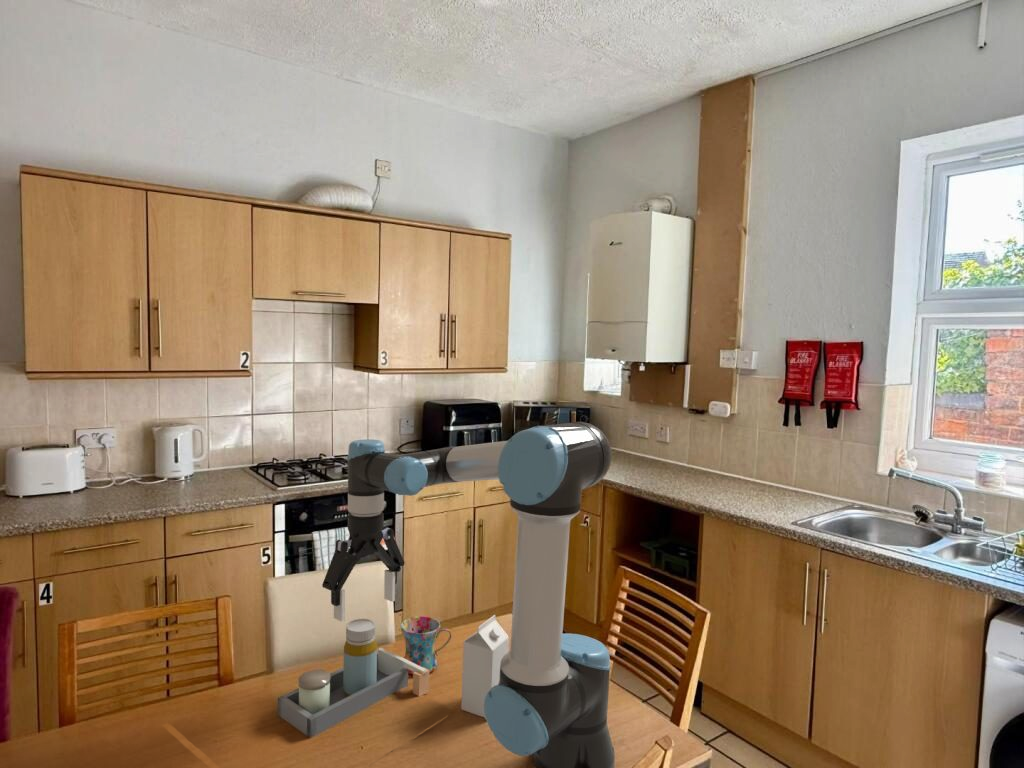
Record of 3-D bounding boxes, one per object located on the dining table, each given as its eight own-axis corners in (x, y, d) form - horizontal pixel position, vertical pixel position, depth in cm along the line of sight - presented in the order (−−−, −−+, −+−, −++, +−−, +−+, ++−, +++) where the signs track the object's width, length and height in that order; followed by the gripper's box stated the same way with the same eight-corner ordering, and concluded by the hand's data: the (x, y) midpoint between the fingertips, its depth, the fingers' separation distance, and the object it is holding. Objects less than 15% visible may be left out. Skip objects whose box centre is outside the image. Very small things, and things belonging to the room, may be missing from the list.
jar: (336, 714, 131) (336, 677, 130) (309, 728, 126) (310, 689, 125) (318, 703, 134) (318, 666, 134) (291, 716, 130) (292, 678, 129)
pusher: (429, 691, 141) (429, 667, 140) (419, 697, 138) (419, 672, 138) (384, 667, 150) (384, 645, 150) (374, 672, 148) (374, 650, 147)
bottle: (381, 685, 142) (382, 620, 141) (368, 702, 135) (369, 634, 134) (351, 680, 143) (352, 616, 142) (337, 698, 137) (338, 630, 135)
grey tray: (407, 688, 143) (408, 669, 142) (310, 741, 123) (310, 720, 123) (374, 670, 150) (374, 652, 149) (277, 718, 130) (277, 697, 130)
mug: (399, 679, 146) (400, 634, 146) (399, 659, 155) (400, 616, 155) (452, 676, 148) (453, 632, 148) (449, 656, 158) (450, 614, 157)
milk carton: (461, 710, 135) (463, 623, 134) (478, 694, 141) (481, 610, 140) (490, 720, 132) (493, 631, 130) (506, 703, 138) (509, 618, 137)
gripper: (398, 499, 149) (397, 588, 150) (304, 520, 129) (304, 623, 131) (420, 504, 144) (419, 596, 146) (327, 527, 125) (327, 633, 126)
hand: (365, 609), depth 138 cm, fingers open, 13 cm apart
